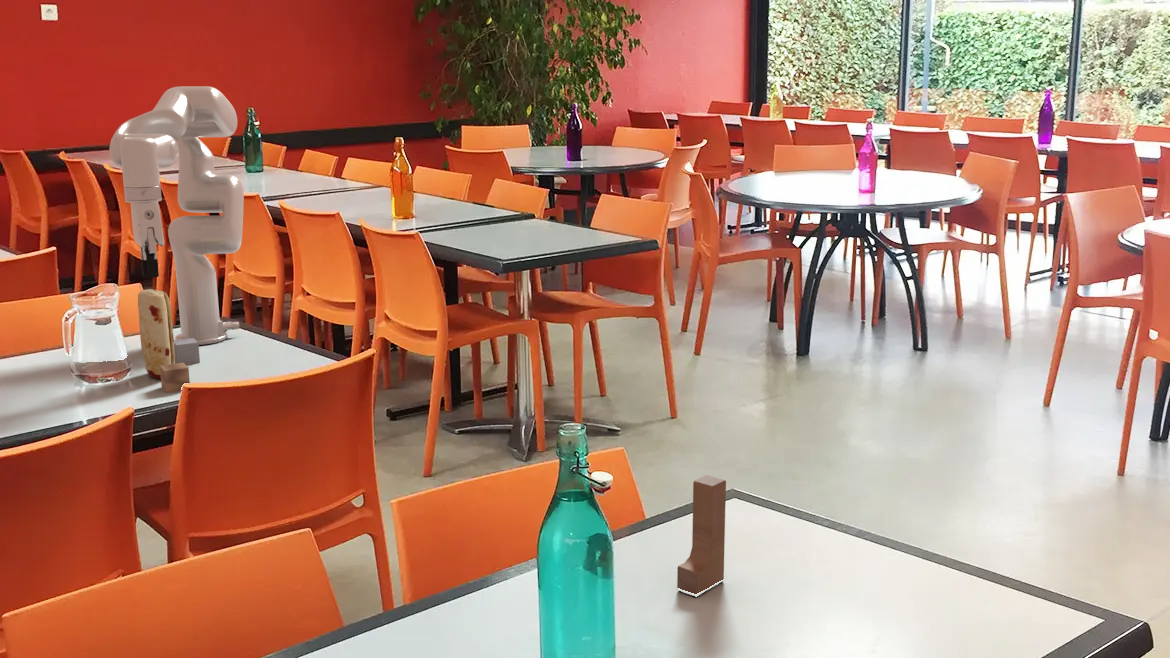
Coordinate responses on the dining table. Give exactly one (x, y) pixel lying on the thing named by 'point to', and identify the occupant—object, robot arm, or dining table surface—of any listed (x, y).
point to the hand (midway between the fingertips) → (150, 276)
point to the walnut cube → (174, 376)
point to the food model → (155, 330)
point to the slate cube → (186, 351)
